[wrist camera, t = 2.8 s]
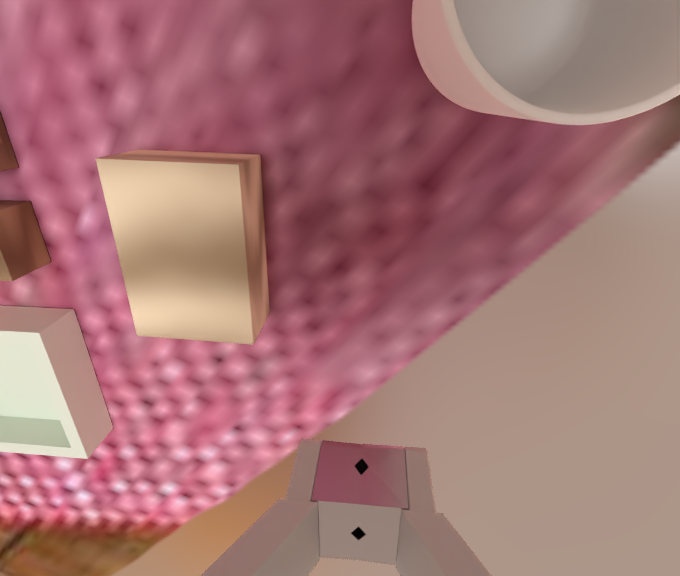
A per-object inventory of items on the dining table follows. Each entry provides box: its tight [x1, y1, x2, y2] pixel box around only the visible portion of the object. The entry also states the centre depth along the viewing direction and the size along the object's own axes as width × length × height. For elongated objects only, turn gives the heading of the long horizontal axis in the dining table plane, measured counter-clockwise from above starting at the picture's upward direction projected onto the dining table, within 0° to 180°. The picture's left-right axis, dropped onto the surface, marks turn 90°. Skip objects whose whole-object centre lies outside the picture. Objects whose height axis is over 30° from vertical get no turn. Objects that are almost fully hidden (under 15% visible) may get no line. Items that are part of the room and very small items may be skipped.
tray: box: [0, 305, 113, 459], centre depth 29 cm, size 11×11×3 cm
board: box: [96, 149, 270, 344], centre depth 23 cm, size 10×7×4 cm
